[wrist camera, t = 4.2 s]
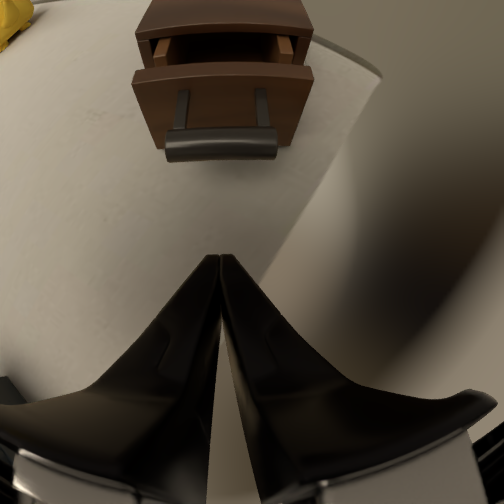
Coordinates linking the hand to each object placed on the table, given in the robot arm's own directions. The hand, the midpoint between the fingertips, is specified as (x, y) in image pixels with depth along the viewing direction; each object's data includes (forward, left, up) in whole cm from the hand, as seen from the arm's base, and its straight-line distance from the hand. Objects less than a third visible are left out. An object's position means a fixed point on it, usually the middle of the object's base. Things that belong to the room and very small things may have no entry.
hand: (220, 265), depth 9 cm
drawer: (+9, -10, -7) cm, 15 cm away
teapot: (+64, -8, -9) cm, 65 cm away
